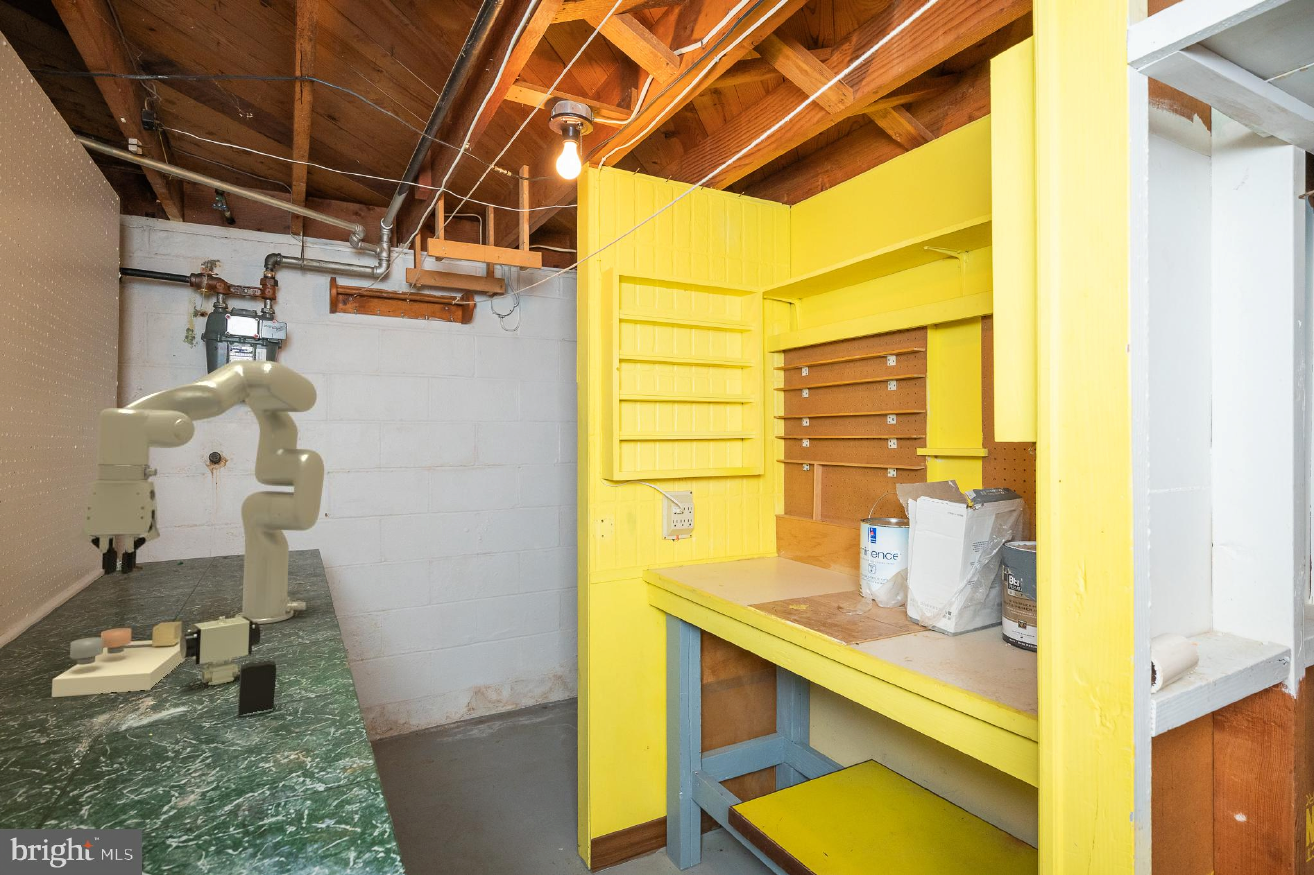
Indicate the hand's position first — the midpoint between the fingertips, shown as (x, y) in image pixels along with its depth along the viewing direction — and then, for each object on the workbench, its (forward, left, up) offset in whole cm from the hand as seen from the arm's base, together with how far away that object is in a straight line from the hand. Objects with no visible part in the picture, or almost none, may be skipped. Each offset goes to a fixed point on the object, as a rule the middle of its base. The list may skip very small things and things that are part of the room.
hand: (118, 572), depth 124 cm
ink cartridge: (-29, +25, -19) cm, 43 cm away
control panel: (-2, -1, -19) cm, 19 cm away
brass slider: (-6, -8, -16) cm, 18 cm away
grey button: (+2, +6, -15) cm, 16 cm away
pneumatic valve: (-19, +8, -19) cm, 28 cm away
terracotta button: (0, 0, -15) cm, 15 cm away
